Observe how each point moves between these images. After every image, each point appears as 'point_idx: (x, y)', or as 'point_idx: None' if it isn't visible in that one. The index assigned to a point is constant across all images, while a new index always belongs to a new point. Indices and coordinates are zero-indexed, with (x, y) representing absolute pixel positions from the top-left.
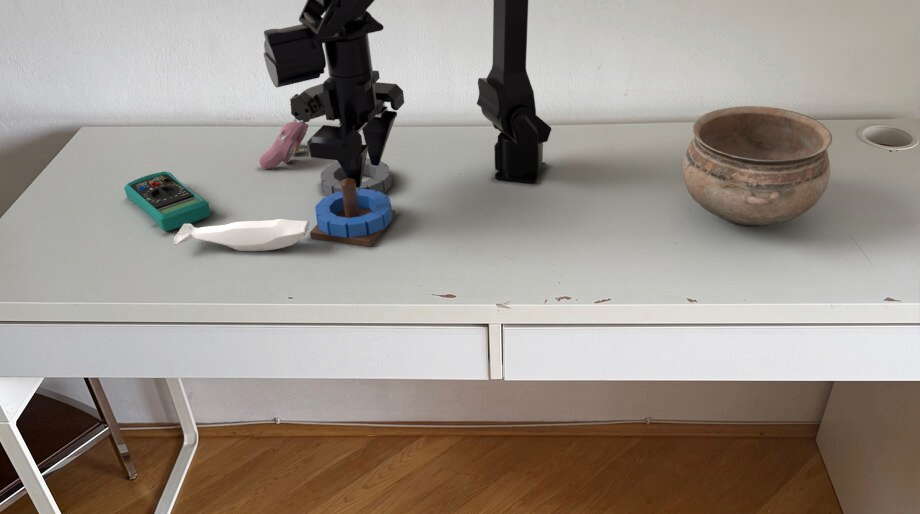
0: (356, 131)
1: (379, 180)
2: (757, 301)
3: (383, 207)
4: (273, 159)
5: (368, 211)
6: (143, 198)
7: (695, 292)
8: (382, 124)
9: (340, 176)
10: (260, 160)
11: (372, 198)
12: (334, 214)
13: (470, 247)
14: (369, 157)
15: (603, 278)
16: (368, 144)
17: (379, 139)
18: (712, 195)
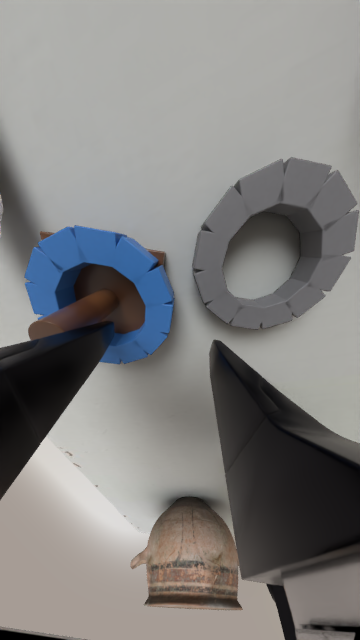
0: None
1: (230, 318)
2: (106, 497)
3: (113, 356)
4: None
5: (141, 315)
6: None
7: (104, 487)
8: (246, 524)
9: (292, 215)
10: None
11: (138, 334)
12: (57, 284)
13: (111, 410)
14: (216, 349)
15: (101, 465)
16: (231, 378)
17: (225, 427)
18: (154, 542)
